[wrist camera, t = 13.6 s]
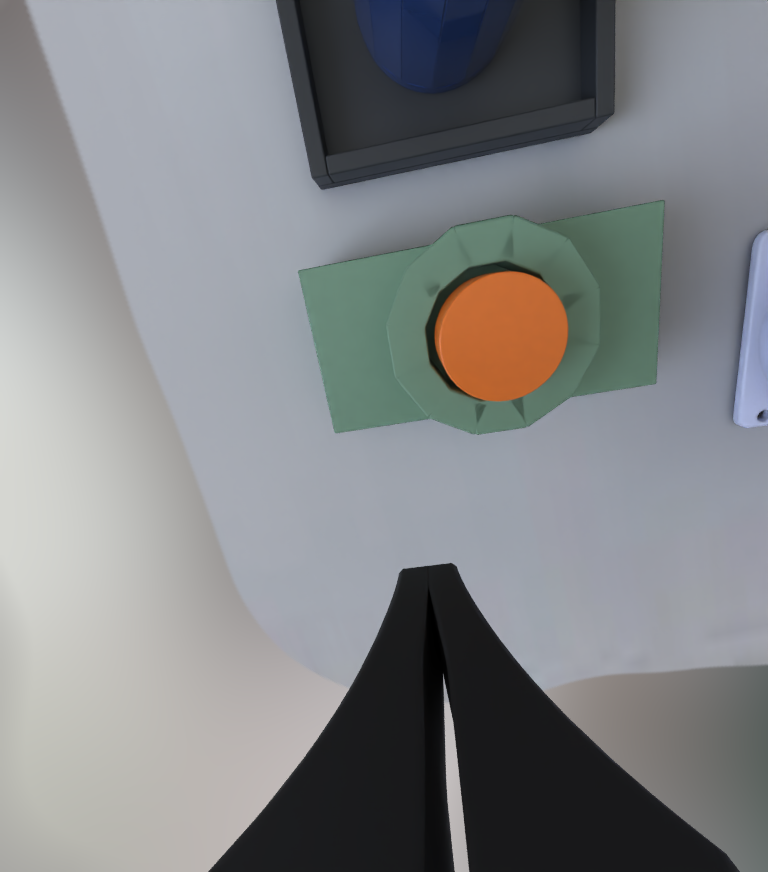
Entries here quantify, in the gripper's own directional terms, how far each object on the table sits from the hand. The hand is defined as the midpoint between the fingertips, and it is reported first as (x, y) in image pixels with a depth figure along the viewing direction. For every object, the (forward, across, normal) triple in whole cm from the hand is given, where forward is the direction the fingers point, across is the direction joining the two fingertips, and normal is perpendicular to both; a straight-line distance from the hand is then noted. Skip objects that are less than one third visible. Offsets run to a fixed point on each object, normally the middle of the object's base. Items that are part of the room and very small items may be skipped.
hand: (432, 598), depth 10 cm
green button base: (+10, -3, -6) cm, 12 cm away
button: (+5, -3, -5) cm, 8 cm away
